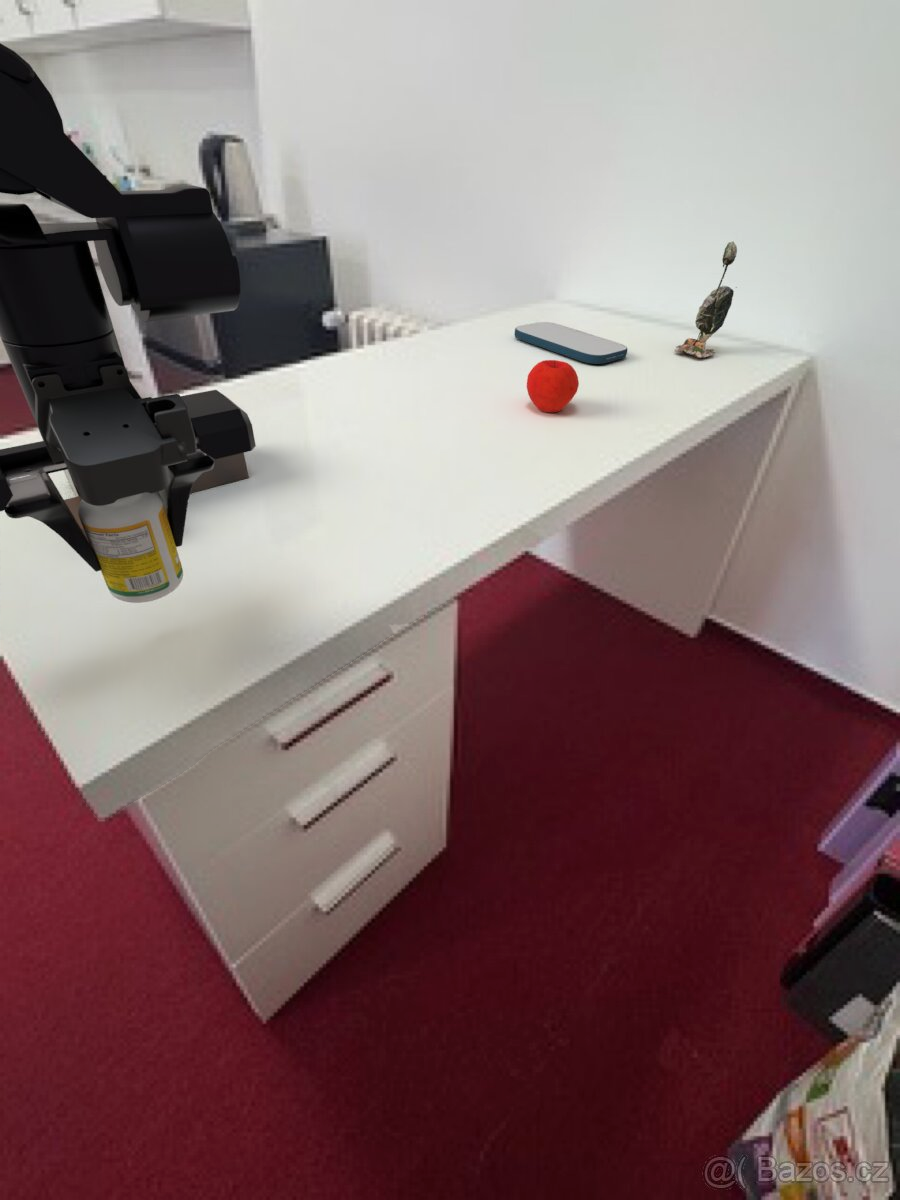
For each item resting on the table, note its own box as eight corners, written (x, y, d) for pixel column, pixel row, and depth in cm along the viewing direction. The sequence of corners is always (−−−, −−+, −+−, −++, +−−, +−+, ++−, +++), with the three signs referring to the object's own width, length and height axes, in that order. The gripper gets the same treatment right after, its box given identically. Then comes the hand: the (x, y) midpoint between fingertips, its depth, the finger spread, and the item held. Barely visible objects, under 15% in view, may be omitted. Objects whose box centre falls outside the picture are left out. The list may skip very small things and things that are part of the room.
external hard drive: (507, 337, 125) (508, 327, 123) (545, 330, 130) (547, 320, 129) (594, 368, 111) (596, 357, 109) (632, 358, 116) (634, 347, 115)
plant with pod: (730, 353, 121) (766, 240, 109) (696, 362, 116) (730, 244, 103) (696, 343, 126) (727, 234, 114) (662, 351, 121) (691, 237, 108)
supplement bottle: (151, 612, 43) (108, 494, 37) (93, 594, 44) (42, 478, 38) (200, 572, 47) (168, 459, 41) (145, 557, 48) (106, 445, 42)
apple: (568, 399, 97) (575, 353, 93) (579, 418, 91) (588, 369, 87) (520, 399, 97) (525, 352, 92) (528, 418, 91) (534, 368, 86)
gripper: (-153, 409, 25) (8, 672, 34) (270, 344, 34) (303, 567, 44) (-150, 342, 31) (-16, 578, 41) (202, 303, 41) (243, 504, 50)
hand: (138, 556), depth 44 cm, fingers closed on supplement bottle, 5 cm apart
